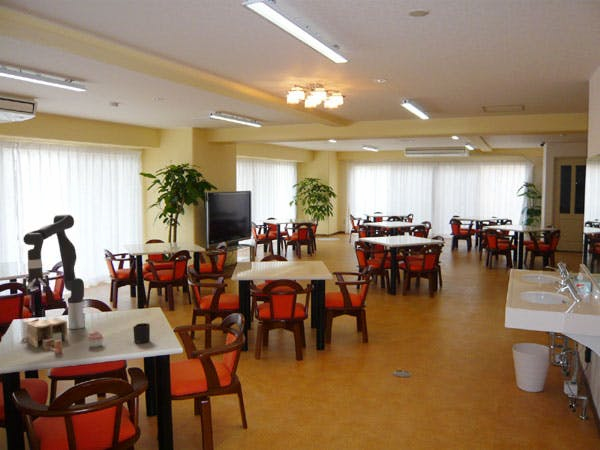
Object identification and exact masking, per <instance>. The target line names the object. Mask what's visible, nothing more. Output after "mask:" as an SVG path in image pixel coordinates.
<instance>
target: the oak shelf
mask: <svg viewBox="0 0 600 450" xmlns="http://www.w3.org/2000/svg"><path fill="white" fill-rule="evenodd" d="M56 331H59V332H61V333H62V341H65V342H67V341H68V321H67V320H65V319H63V318H60V317H58V316H57V317H52V318H46V319H39V321H34V322H29V323H27V336H28V338H27V343H28V344H29V345H32V346H33V347H35V348H38V347H39V343H38V342H39V341H43V339H48V338H53V334H52V332H56Z"/></svg>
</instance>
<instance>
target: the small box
mask: <svg viewBox="0 0 600 450" xmlns="http://www.w3.org/2000/svg"><path fill="white" fill-rule="evenodd" d="M34 321H40V319H39V318H28V319H26V320H23V321H22V323H21V324H22V338H23V339H28V336H27V323H29V322H34Z"/></svg>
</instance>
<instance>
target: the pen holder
mask: <svg viewBox="0 0 600 450" xmlns="http://www.w3.org/2000/svg"><path fill="white" fill-rule="evenodd" d="M132 329H133V338H134V339H133V341H134V343H135V344H137V345H138V344H139V345H140V344H146V343H149V342H150V338H151V337H150V336H151V335H150V334H151V332H150V330H151V327H150V324H149V323H143V322H140V323H138V324H137V323H136V325H134V326H133V328H132Z"/></svg>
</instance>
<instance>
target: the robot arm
mask: <svg viewBox="0 0 600 450" xmlns="http://www.w3.org/2000/svg"><path fill="white" fill-rule="evenodd" d="M52 221H53V223H51V224H47V225H44V226H42V227H41V228H39V229H37V230H32V231H29V232H27V233H26V234H25V235H24V236H23V242H24V244H25V245H26V246H33V248H31V249H28V250H27V272H28V273H27V275H28V277H22V288H23V289H25V290H26V294H27V296H31V287H32V286H33V285H38V284H39V285H42V294H45V293H46V292H47V286H49V285H50V278H49V274H45V275H43V260H42V249H43V244H44V241H45V240H46V239H48V238H50V237H52V236H54V235H56V239H57V242H58V248H59V254H60V259H61V265H62V270H63V283H64V287H65V289H66V290H67V291H68V292H71V293H70V296H69V297H68V298H67V313H68V314H67V315H68V316H67V317H68V329H69V330H79V329H83V328H85V327H86V317H85V316H86V315H85V312H84V297H85V283H84V280H83V279H82V278H79V277H76V272H75V265H76V263H77V262H76V261H77V251H76V248H75V245H74V244H73V243H72V241H71V240H70V239H69V238H68V236H67V234H66V231H65V230H68V229H72V228H73V226H74V225H75V219H74V216H72V215H71V214H57V215H55V216H53V220H52ZM43 279H44V280H45V282H44V281H43ZM28 281H29V282H28ZM27 282H28V283H27Z"/></svg>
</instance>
